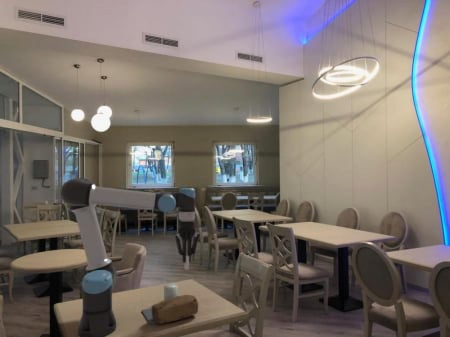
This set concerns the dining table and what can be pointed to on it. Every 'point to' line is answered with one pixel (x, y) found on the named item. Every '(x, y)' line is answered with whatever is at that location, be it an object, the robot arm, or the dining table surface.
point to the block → (175, 308)
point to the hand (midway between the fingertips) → (186, 269)
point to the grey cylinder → (170, 291)
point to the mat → (149, 316)
